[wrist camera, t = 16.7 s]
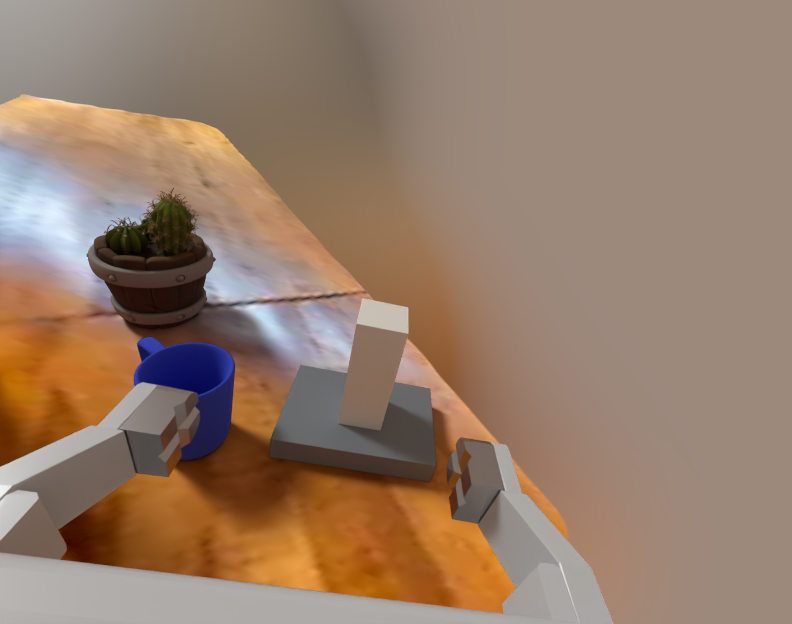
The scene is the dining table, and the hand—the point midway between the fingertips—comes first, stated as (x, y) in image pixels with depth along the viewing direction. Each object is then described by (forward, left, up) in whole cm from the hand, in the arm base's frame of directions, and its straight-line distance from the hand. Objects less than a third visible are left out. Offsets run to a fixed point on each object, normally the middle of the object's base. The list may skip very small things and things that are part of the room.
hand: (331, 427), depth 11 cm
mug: (-17, +18, -27) cm, 36 cm away
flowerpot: (-31, +38, -27) cm, 56 cm away
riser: (+2, +22, -26) cm, 35 cm away
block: (+2, +22, -23) cm, 32 cm away
